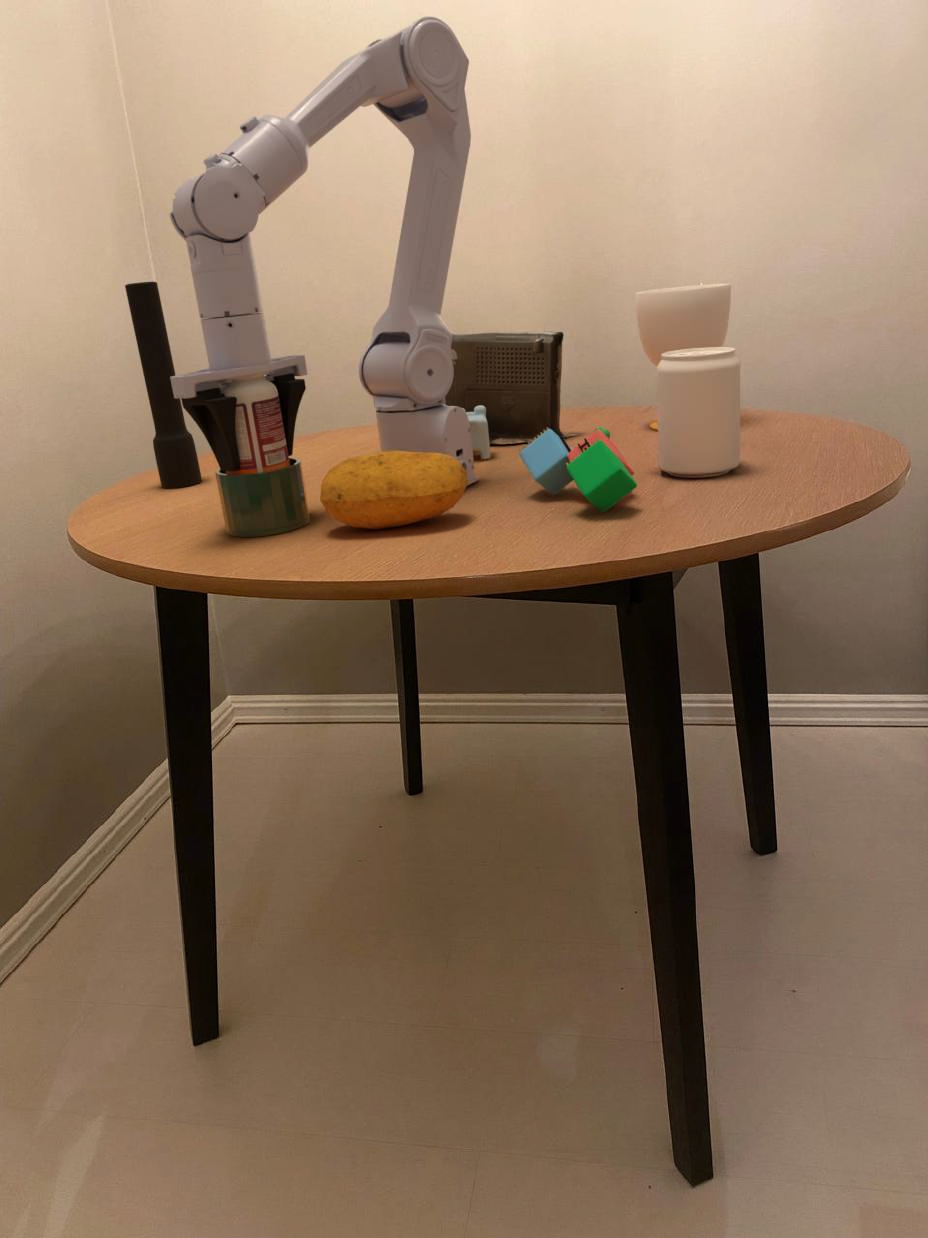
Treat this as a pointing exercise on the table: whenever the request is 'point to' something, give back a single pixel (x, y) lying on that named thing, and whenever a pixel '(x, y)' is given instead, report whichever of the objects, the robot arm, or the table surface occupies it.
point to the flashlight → (162, 389)
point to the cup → (682, 319)
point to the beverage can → (699, 411)
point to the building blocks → (580, 466)
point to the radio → (509, 382)
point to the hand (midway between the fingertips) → (257, 462)
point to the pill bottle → (258, 425)
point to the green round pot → (264, 501)
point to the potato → (392, 488)
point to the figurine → (479, 431)
